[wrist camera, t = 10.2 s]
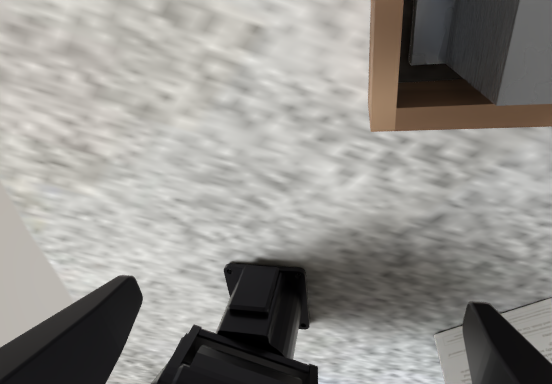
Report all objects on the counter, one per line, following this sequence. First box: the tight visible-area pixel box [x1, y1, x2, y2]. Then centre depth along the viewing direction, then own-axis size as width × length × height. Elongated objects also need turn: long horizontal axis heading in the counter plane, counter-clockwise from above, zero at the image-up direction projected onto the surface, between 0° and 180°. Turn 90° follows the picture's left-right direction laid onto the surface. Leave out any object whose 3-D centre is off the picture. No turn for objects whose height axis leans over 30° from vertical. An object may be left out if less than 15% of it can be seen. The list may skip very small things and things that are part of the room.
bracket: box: [408, 0, 552, 106], centre depth 12 cm, size 5×5×8 cm
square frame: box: [368, 0, 552, 132], centre depth 14 cm, size 9×9×4 cm
